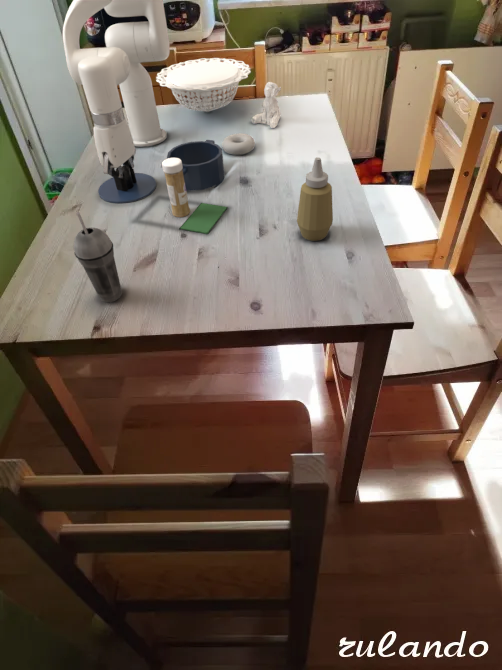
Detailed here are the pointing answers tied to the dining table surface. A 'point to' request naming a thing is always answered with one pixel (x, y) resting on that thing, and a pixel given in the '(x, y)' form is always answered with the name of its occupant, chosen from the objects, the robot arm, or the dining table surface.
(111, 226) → the dining table surface
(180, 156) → the pot
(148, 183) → the lid
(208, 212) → the green flat rectangular board
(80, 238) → the beverage cup
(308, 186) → the squeeze bottle
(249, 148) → the donut
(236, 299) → the dining table surface
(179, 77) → the white wicker basket
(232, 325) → the dining table surface
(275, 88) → the seated beast figurine
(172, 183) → the sprinkles bottle
